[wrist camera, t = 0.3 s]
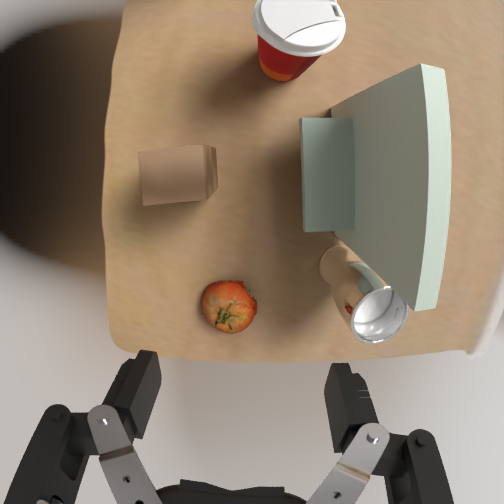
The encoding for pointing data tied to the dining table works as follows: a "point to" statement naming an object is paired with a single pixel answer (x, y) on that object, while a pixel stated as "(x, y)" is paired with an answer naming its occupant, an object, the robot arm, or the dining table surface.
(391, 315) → the beer glass
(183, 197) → the cabinet
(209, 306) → the tomato
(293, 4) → the coffee cup
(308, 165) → the wall board
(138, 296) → the dining table surface
